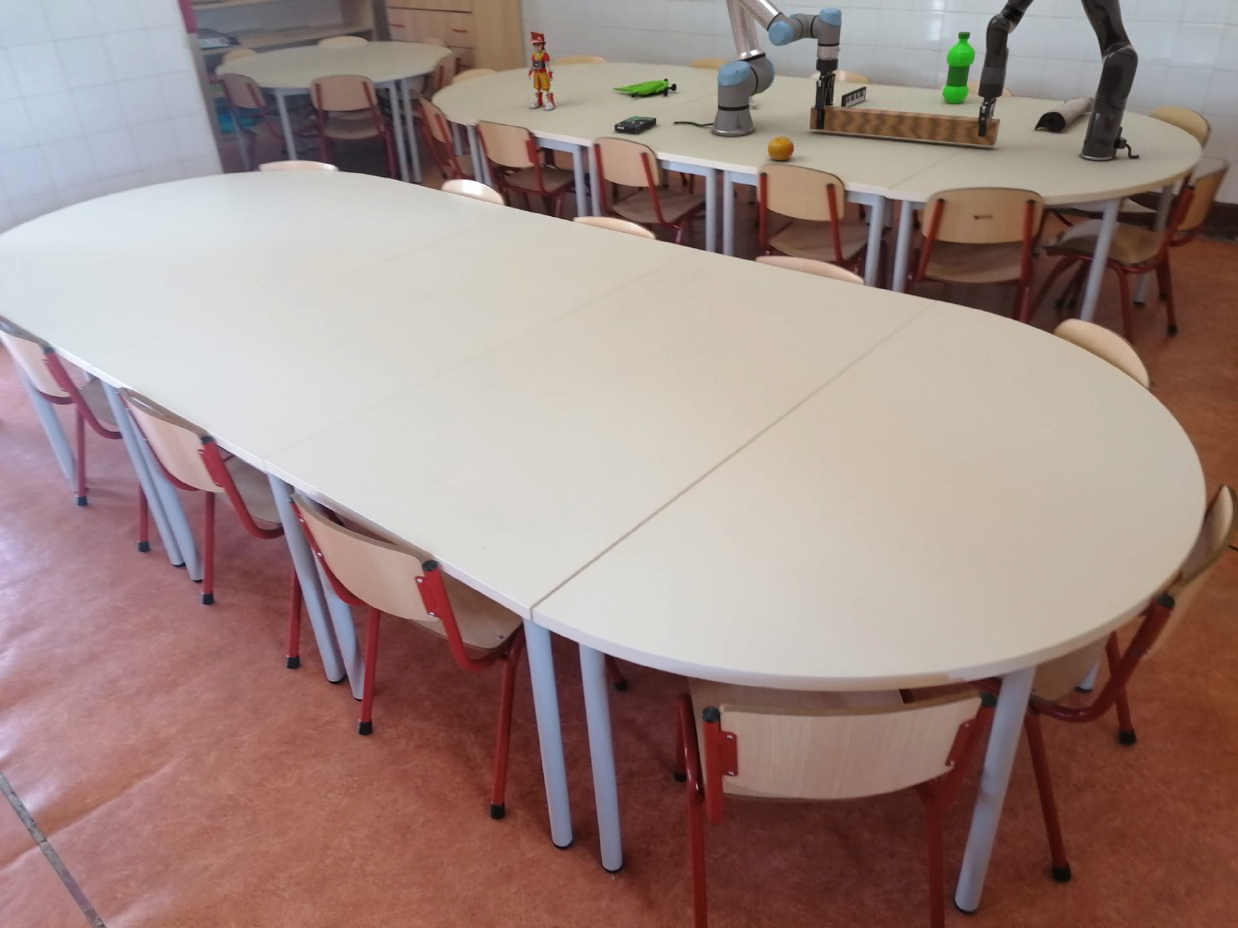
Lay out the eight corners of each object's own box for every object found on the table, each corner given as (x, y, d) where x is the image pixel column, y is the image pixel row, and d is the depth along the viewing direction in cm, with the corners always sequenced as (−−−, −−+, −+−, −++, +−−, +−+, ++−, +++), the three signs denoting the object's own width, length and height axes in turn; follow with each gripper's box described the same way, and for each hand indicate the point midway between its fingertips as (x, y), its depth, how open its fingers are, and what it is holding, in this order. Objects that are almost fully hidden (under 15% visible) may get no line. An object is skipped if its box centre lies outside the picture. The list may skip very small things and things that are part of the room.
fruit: (761, 151, 301) (775, 129, 298) (766, 153, 309) (779, 132, 306) (781, 165, 300) (795, 143, 297) (786, 167, 307) (800, 146, 304)
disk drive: (637, 135, 339) (656, 124, 349) (637, 127, 338) (656, 117, 348) (614, 132, 344) (634, 122, 354) (613, 125, 343) (633, 115, 353)
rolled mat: (1062, 101, 334) (1086, 84, 326) (1075, 122, 335) (1100, 105, 327) (1030, 123, 317) (1055, 105, 309) (1044, 145, 318) (1070, 128, 309)
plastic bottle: (973, 101, 354) (984, 32, 339) (955, 106, 349) (966, 36, 335) (952, 97, 361) (962, 29, 346) (934, 102, 356) (944, 33, 342)
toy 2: (686, 85, 398) (631, 84, 414) (685, 72, 395) (629, 72, 411) (651, 104, 381) (596, 103, 397) (650, 92, 378) (594, 91, 394)
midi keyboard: (843, 109, 354) (844, 96, 351) (840, 109, 355) (841, 95, 352) (865, 100, 365) (866, 87, 362) (862, 99, 365) (863, 86, 362)
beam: (809, 129, 328) (810, 108, 323) (814, 126, 331) (815, 104, 327) (992, 146, 299) (997, 123, 295) (996, 142, 303) (1000, 119, 298)
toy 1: (525, 109, 381) (517, 32, 364) (534, 104, 388) (527, 28, 371) (550, 110, 377) (543, 32, 360) (559, 105, 384) (553, 28, 367)
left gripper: (828, 64, 306) (823, 134, 319) (846, 53, 319) (840, 121, 332) (808, 62, 309) (803, 132, 323) (826, 52, 322) (821, 120, 335)
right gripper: (999, 86, 285) (989, 141, 295) (1009, 76, 295) (999, 129, 304) (975, 84, 288) (966, 138, 298) (985, 75, 298) (976, 128, 308)
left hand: (822, 126), depth 327 cm, fingers closed on beam, 5 cm apart
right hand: (983, 134), depth 301 cm, fingers closed on beam, 5 cm apart
